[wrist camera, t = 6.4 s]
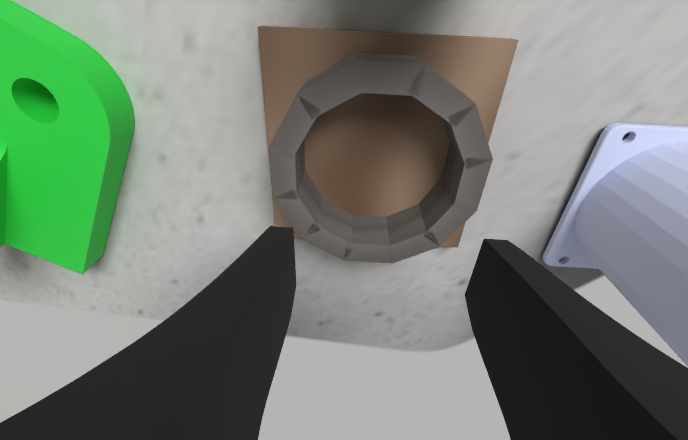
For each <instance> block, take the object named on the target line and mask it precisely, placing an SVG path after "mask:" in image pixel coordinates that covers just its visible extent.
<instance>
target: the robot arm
mask: <svg viewBox="0 0 688 440" xmlns="http://www.w3.org/2000/svg"><path fill="white" fill-rule="evenodd" d="M628 132H630V133H629V136H628V137H627V138H625V139H624V140H622V138H623V136H624V135H625V134H626V133H628ZM562 257H564V258H562ZM561 258H562V259H561ZM543 261H544V262H545V263H546V264H547V265H548V266H558V267H574V268H591V269H600V270H601V271H602V272H603V274H604V275H605V276H606V277H607V278H608V279H609V280H610V281H611V282H612V283H613V285H614V286H615V287H616V288H617V289H618V290H619V291H620V292H621V293H622V294H623V296H624V297H625V298H626V299H627V300H628V301H629V302H630V303H631V304H632V306H633V307H634V308H635V309H636V310H637V311H638V312H639V313H640V314H641V316H642V317H643V318H644V319H645V320H646V321H647V322H648V323H649V324H650V325H651V327H652V328H653V329H654V330H655V331H656V332H657V333H658V334H659V335H660V337H661V338H662V339H663V340H664V341H665V342H666V343H667V344H668V345H669V347H670V348H671V349H672V350H673V351H674V352H675V353H676V354H677V355H678V356H679V358H680V359H681V360H682V361H683V362H684V363H685V364H686V365H687V366H688V127H679V126H661V125H642V124H624V123H615V124H612V125H609V126H608V127H606V128H605V129H604V130H603V132H602V133H601V135H600V137H599V139H598V141H597V143H596V145H595V148H594V150H593V152H592V154H591V156H590V158H589V160H588V162H587V164H586V166H585V168H584V171H583V173H582V175H581V177H580V179H579V181H578V183H577V185H576V187H575V189H574V191H573V194H572V196H571V198H570V200H569V202H568V204H567V206H566V208H565V210H564V212H563V214H562V217H561V219H560V221H559V223H558V225H557V227H556V229H555V231H554V233H553V235H552V238H551V240H550V242H549V244H548V246H547V248H546V250H545V252H544V254H543ZM295 289H296V270H295V251H294V232H293V228H291V227H274V226H270V227H269V228H268V229H267V230H266V231H265V232H264V233H263V234H262V235H261V236H260V237H259V238H258V239H257V240H256V241H255V242H254V243H253V244H252V245H251V246H250V247H249V248H248V249H247V250H246V251H245V252H244V253H243V254H242V255H241V256H240V257H238V258H237V259H236V260H235V261H234V262H233V263H232V264H231V265H230V266H229V267H228V268H227V269H226V270H225V271H224V272H222V273H221V274H220V275H219V276H218V277H217V278H216V279H215V280H214V281H213V282H211V283H210V284H209V285H208V286H207V287H205V288H204V289H203V290H202V291H201V292H200V293H198V294H197V295H196V296H195V297H194V298H192V299H191V300H190V301H189V302H188V303H187V304H185V305H184V306H183V307H182V308H180V309H179V310H178V311H176V312H175V313H174V314H173V315H171V316H170V317H169V318H167V319H166V320H165V321H163V322H162V323H161V324H159V325H158V326H157V327H155V328H154V329H152V330H151V331H150V332H148V333H147V334H145V335H144V336H143V337H141V338H140V339H138V340H137V341H136V342H134V343H133V344H131V345H129V346H128V347H126V348H125V349H123V350H122V351H120V352H119V353H117V354H115V355H114V356H112V357H111V358H109V359H108V360H106V361H104V362H103V363H101V364H100V365H98V366H97V367H95V368H93V369H92V370H91V371H89V372H87V373H86V374H84V375H82V376H81V377H79V378H78V379H76V380H74V381H73V382H71V383H69V384H68V385H66V386H64V387H63V388H61V389H59V390H58V391H56V392H54V393H52V394H51V395H49V396H47V397H46V398H44V399H42V400H40V401H39V402H37V403H35V404H33V405H32V406H30V407H28V408H26V409H25V410H23V411H21V412H19V413H17V414H16V415H14V416H12V417H10V418H8V419H7V420H5V421H3V422H1V423H0V440H258V436H259V430H260V425H261V421H262V416H263V412H264V408H265V404H266V400H267V397H268V393H269V390H270V387H271V383H272V380H273V377H274V373H275V370H276V366H277V363H278V360H279V356H280V353H281V349H282V346H283V342H284V339H285V336H286V332H287V329H288V325H289V322H290V318H291V312H292V307H293V301H294V295H295ZM465 298H466V303H467V308H468V313H469V317H470V321H471V326H472V330H473V333H474V336H475V339H476V341H477V344H478V347H479V350H480V353H481V355H482V358H483V361H484V364H485V366H486V369H487V372H488V375H489V378H490V380H491V383H492V386H493V389H494V391H495V394H496V397H497V400H498V402H499V405H500V408H501V411H502V413H503V416H504V419H505V422H506V426H507V429H508V432H509V435H510V438H511V440H688V368H687V367H685V366H683V365H682V364H680V363H679V362H677V361H675V360H674V359H672V358H671V357H669V356H667V355H666V354H664V353H663V352H661V351H659V350H658V349H656V348H655V347H653V346H652V345H650V344H649V343H647V342H646V341H644V340H643V339H641V338H640V337H638V336H637V335H635V334H634V333H632V332H631V331H629V330H628V329H626V328H625V327H624V326H622V325H621V324H619V323H618V322H617V321H615V320H613V319H612V318H611V317H609V316H608V315H606V314H605V313H604V312H602V311H601V310H600V309H598V308H597V307H595V306H594V305H593V304H591V303H590V302H589V301H587V300H586V299H585V298H583V297H582V296H581V295H579V294H578V293H577V292H575V291H574V290H573V289H571V288H570V287H569V286H568V285H566V284H565V283H564V282H562V281H561V280H560V279H558V278H557V277H556V276H555V275H553V274H552V273H551V272H549V271H548V270H547V269H546V268H544V267H543V266H542V265H540V264H539V263H538V262H537V261H535V260H534V259H533V258H531V257H530V256H529V255H527V254H526V253H525V252H523V251H522V250H521V249H519V248H518V247H517V246H515V245H514V244H512V243H511V242H509V241H508V240H495V239H484V240H483V243H482V246H481V249H480V252H479V255H478V258H477V261H476V264H475V267H474V270H473V273H472V275H471V278H470V281H469V284H468V287H467V290H466V293H465Z"/></svg>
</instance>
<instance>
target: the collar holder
mask: <svg viewBox="0 0 688 440" xmlns="http://www.w3.org/2000/svg"><path fill="white" fill-rule="evenodd" d="M258 35H259V47H260V58H261V69H262V81H263V92H264V104H265V115H266V126H267V138H268V149H269V161H270V172H271V183H272V195H273V206H274V218H275V227H291V228H293V232H294V238H302V239H304V240H306V241H308V242H310V243H312V244H314V245H316V246H318V247H320V248H322V249H324V250H326V251H327V252H329V253H331V254H333V255H335V256H337V257H339V258H341V259H343V260H349V261H365V262H382V263H395V262H398V261H400V260H403V259H406V258H409V257H412V256H414V255H417V254H420V253H423V252H426V251H429V250H431V249H434V248H437V247H440V246H443V247H458V245H459V242H460V238H461V235H462V232H463V228H464V225H465V222H466V221H467V220H468V219H469V218H470V217H471V216H472V215H473V214H474V213H475V212H476V211H477V208H478V205H479V202H480V199H481V195H482V192H483V189H484V186H485V182H486V179H487V176H488V173H489V169H490V166H491V163H492V160H493V158H492V155H491V152H490V149H489V145H488V142H489V139H490V135H491V132H492V129H493V125H494V122H495V118H496V115H497V111H498V108H499V105H500V101H501V98H502V94H503V91H504V87H505V84H506V81H507V77H508V74H509V70H510V67H511V63H512V60H513V57H514V53H515V50H516V46H517V43H518V40H516V39H507V38H488V37H468V36H448V35H429V34H409V33H389V32H370V31H350V30H330V29H311V28H291V27H271V26H259V27H258Z"/></svg>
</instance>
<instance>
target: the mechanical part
mask: <svg viewBox="0 0 688 440" xmlns="http://www.w3.org/2000/svg"><path fill="white" fill-rule="evenodd" d="M49 91H50V92H51V93H52V95H53V96H54V97H55V99H56V101H57V102H56V101H55V99H54V98H53V97H52V95H51V94H50V92H49ZM134 126H135V118H134V110H133V106H132V102H131V99H130V97H129V94H128V92H127V90H126V88H125V86H124V84H123V82H122V81H121V79H120V78H119V76H118V75H117V73H116V72H115V70H114V69H113V68H112V67H111V65H110V64H109V63H108V62H107V61H106V60H105V59H104V58H103V57H102V56H101V55H100V54H99V53H98V52H97V51H96V50H94V49H93V48H92V47H91V46H89V45H88V44H87V43H85V42H84V41H82V40H81V39H79V38H78V37H76V36H74V35H72V34H71V33H69V32H67V31H65V30H63V29H62V28H60V27H58V26H56V25H55V24H53V23H51V22H49V21H47V20H46V19H44V18H42V17H40V16H38V15H37V14H35V13H33V12H31V11H30V10H28V9H26V8H24V7H22V6H21V5H19V4H17V3H15V2H14V1H12V0H0V247H1V246H3V245H4V244H6V245H9V246H11V247H14V248H17V249H19V250H22V251H24V252H27V253H29V254H32V255H34V256H37V257H39V258H42V259H44V260H47V261H49V262H52V263H55V264H57V265H60V266H62V267H65V268H67V269H70V270H72V271H75V272H77V273H80V274H82V275H83V274H84V273H85V272H86V271H87V270H88V269H89V268H90V267H91V266H92V265H93V264H94V263H95V262H96V261H97V260H98V259H99V258H100V257H102V256H103V255H104V250H105V246H106V242H107V238H108V234H109V230H110V226H111V222H112V218H113V214H114V210H115V206H116V202H117V198H118V194H119V190H120V186H121V182H122V178H123V174H124V169H125V165H126V161H127V157H128V153H129V149H130V145H131V141H132V137H133V133H134Z"/></svg>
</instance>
